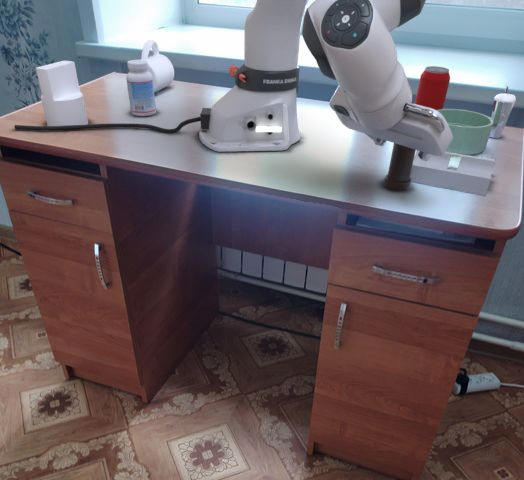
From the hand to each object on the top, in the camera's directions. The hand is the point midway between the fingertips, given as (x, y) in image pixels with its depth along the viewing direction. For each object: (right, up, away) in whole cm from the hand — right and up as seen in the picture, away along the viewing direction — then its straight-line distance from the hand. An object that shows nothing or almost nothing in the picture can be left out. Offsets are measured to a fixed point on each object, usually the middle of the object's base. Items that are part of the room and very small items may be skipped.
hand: (403, 149), depth 90 cm
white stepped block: (-70, +16, +27) cm, 77 cm away
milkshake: (+29, +15, +29) cm, 44 cm away
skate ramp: (+11, -2, +9) cm, 15 cm away
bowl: (+17, +10, +22) cm, 30 cm away
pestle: (0, -5, +5) cm, 7 cm away
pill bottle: (-54, +22, +34) cm, 68 cm away
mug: (-55, +36, +50) cm, 83 cm away
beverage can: (+15, +20, +35) cm, 43 cm away
